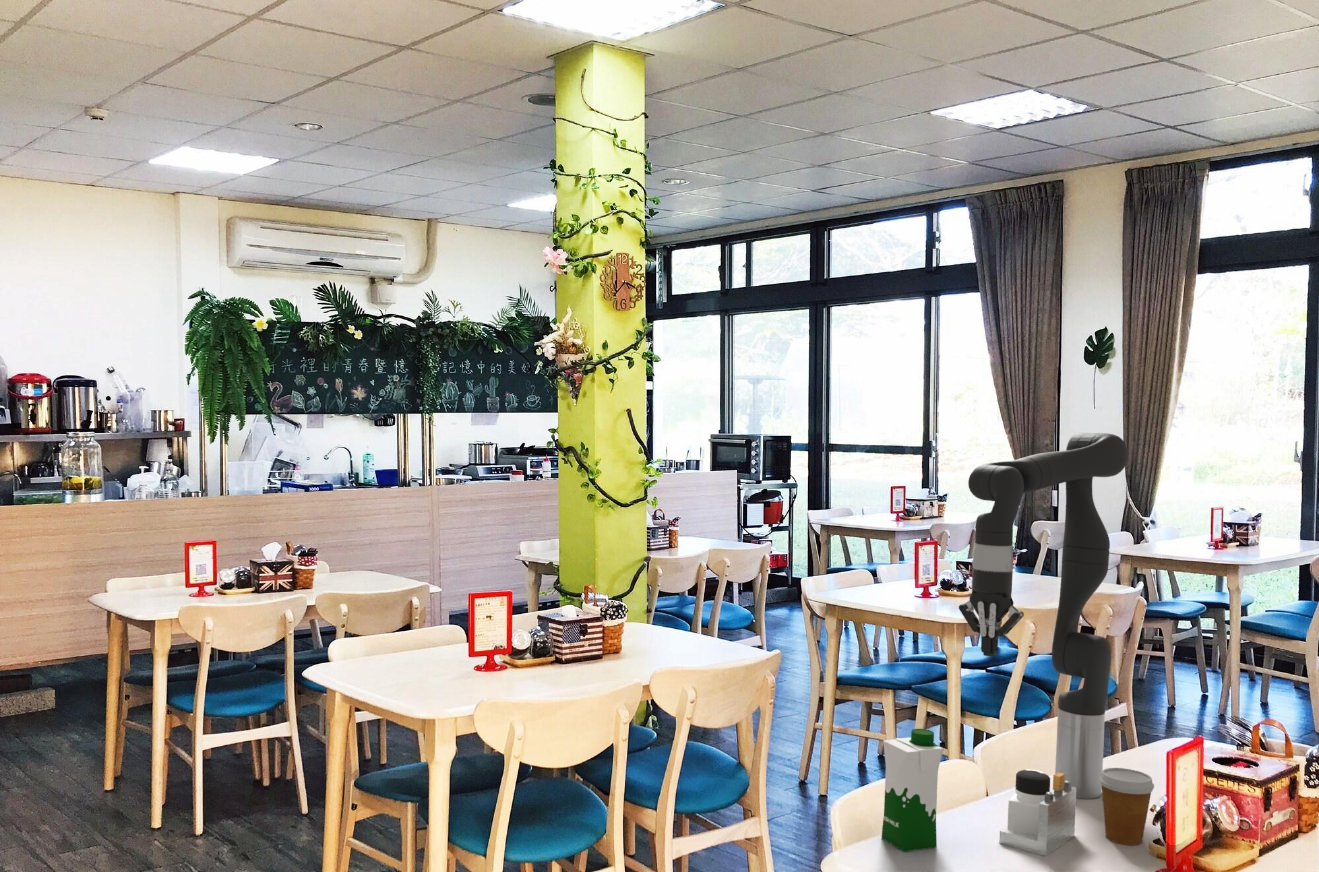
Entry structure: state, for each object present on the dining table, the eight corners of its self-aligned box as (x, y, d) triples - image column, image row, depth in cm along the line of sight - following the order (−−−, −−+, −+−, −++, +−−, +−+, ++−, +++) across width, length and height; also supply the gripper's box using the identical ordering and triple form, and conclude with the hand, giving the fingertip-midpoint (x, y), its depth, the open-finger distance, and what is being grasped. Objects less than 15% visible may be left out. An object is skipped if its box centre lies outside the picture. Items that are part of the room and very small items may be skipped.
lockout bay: (1029, 823, 215) (1032, 757, 215) (1074, 835, 210) (1077, 767, 209) (999, 842, 204) (1002, 773, 204) (1045, 856, 199) (1048, 784, 199)
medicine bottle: (1046, 847, 203) (1049, 781, 203) (1006, 838, 207) (1009, 773, 207) (1054, 835, 210) (1056, 771, 209) (1014, 827, 213) (1017, 764, 213)
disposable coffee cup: (1127, 852, 202) (1130, 785, 202) (1085, 833, 211) (1088, 770, 211) (1163, 844, 207) (1166, 779, 206) (1120, 827, 215) (1123, 764, 215)
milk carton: (944, 848, 201) (948, 737, 200) (901, 854, 197) (906, 741, 197) (914, 831, 209) (918, 724, 208) (873, 836, 205) (877, 728, 205)
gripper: (1033, 569, 218) (1029, 658, 218) (969, 562, 227) (965, 647, 227) (1017, 572, 212) (1013, 664, 213) (952, 565, 221) (949, 652, 221)
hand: (988, 655), depth 220 cm, fingers closed
